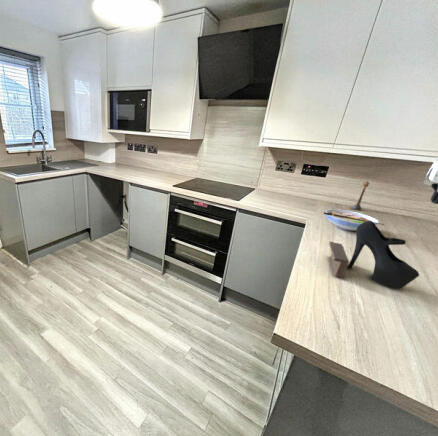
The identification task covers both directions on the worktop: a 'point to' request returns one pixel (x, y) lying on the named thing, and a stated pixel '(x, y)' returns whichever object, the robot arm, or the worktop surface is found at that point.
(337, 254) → the shoe rack rail
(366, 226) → the high-heeled shoe
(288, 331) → the worktop surface
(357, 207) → the wooden tabletop sculpture
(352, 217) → the ramen bowl
